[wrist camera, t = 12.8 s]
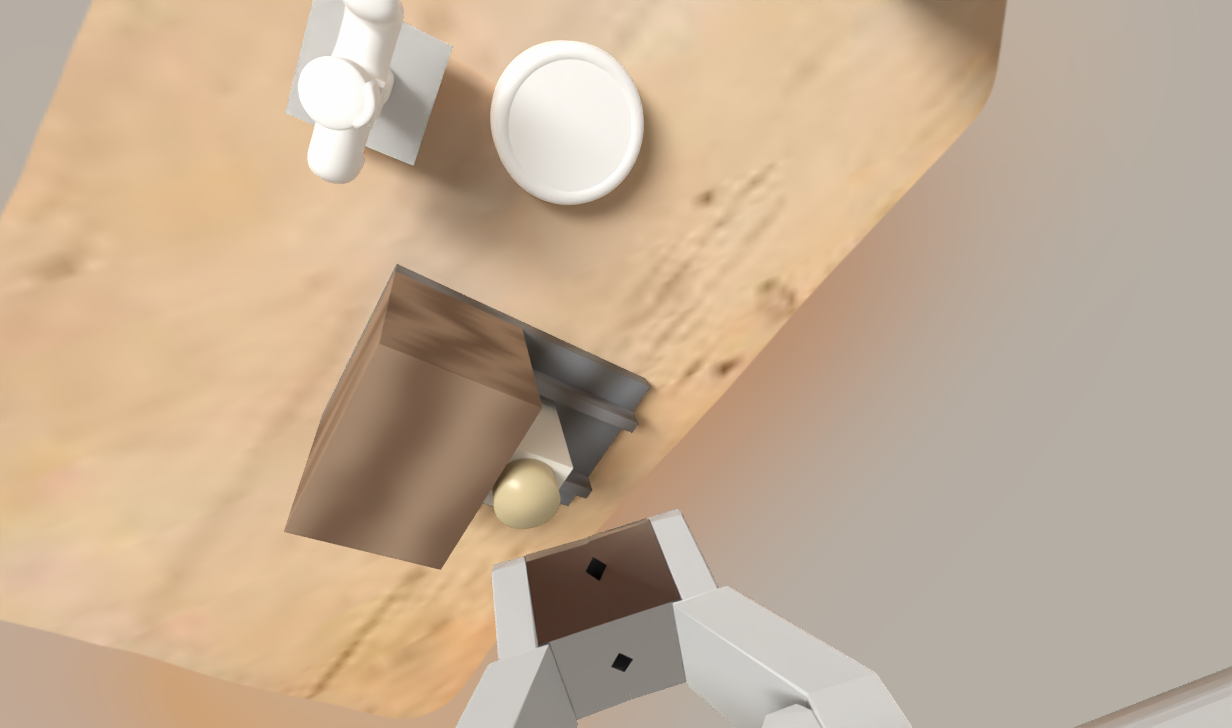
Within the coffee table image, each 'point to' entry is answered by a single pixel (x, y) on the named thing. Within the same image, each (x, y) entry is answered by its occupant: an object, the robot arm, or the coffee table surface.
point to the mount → (446, 421)
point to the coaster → (567, 122)
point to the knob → (533, 474)
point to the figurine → (364, 84)
